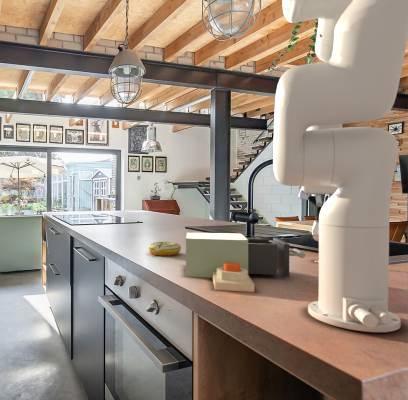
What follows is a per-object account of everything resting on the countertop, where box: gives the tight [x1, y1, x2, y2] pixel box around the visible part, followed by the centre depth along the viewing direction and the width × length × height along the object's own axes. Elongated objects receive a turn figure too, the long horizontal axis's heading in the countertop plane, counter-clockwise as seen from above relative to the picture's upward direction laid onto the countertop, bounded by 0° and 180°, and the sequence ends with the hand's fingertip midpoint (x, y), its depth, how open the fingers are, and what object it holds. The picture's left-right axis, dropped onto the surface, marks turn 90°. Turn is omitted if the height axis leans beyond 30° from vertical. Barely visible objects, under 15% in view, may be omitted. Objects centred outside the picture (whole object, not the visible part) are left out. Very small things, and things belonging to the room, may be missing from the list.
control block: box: [211, 267, 255, 293], centre depth 80 cm, size 10×8×4 cm
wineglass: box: [311, 220, 319, 264], centre depth 104 cm, size 6×6×12 cm
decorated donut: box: [148, 240, 182, 257], centre depth 120 cm, size 10×11×4 cm
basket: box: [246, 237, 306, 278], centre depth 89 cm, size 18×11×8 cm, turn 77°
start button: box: [224, 262, 240, 272], centre depth 80 cm, size 4×4×2 cm
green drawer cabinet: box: [185, 232, 248, 279], centre depth 92 cm, size 15×13×10 cm
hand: (322, 222), depth 87 cm, fingers closed
